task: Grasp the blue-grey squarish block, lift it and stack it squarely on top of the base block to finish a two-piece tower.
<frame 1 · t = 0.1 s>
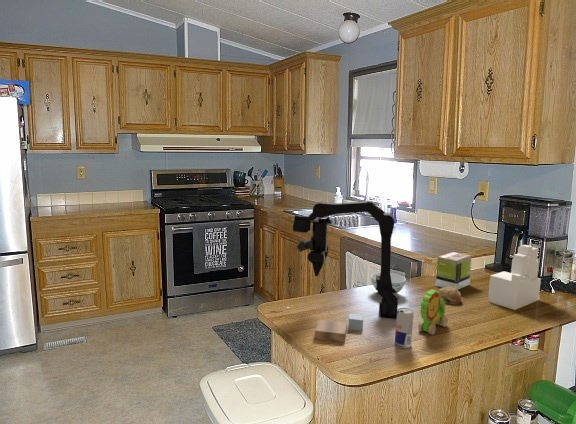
hand: (318, 272, 180), 15 cm above the countertop, fingers open, 9 cm apart
bread roll: (448, 300, 196), on the countertop
energy drink: (402, 345, 151), on the countertop
blue-grey squarish block: (355, 327, 165), on the countertop
tea box: (452, 286, 217), on the countertop
chinaware: (387, 294, 201), on the countertop
building blocks: (513, 301, 198), on the countertop
toy lion: (431, 330, 164), on the countertop
base block: (331, 334, 157), on the countertop
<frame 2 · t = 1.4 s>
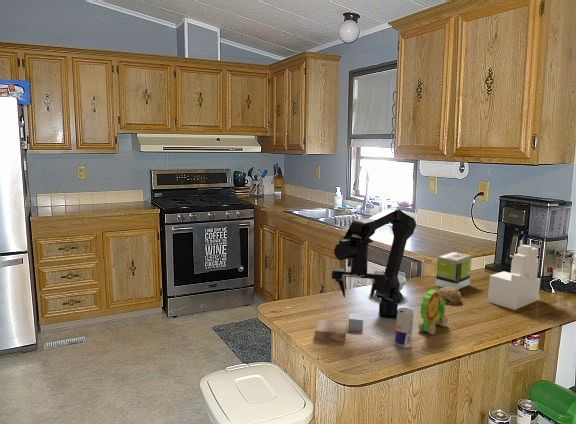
hand: (357, 298, 163), 11 cm above the countertop, fingers open, 9 cm apart
nothing on the countertop moved.
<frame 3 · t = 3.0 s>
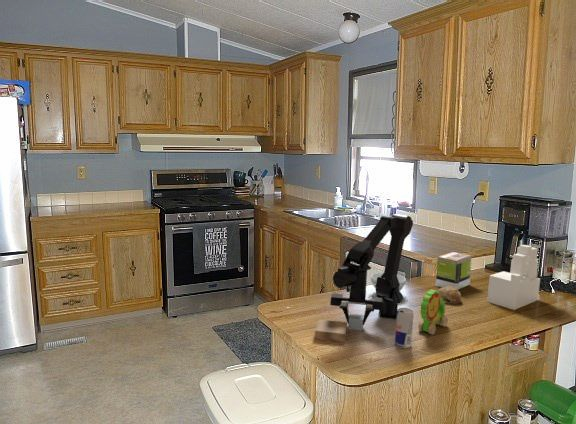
hand: (355, 324, 164), 1 cm above the countertop, fingers closed on blue-grey squarish block, 5 cm apart
blue-grey squarish block: (355, 326, 165), on the countertop, touching gripper
everything else where it was.
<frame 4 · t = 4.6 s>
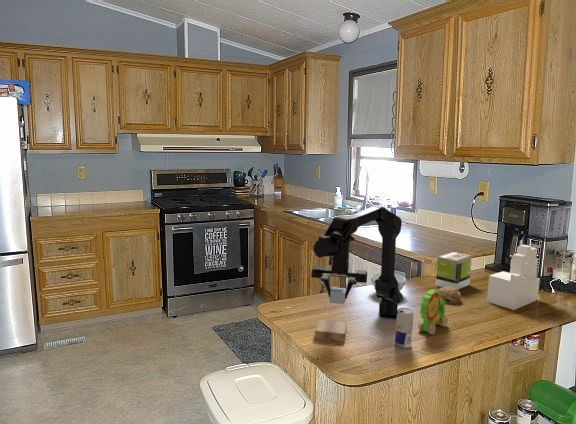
hand: (337, 298, 157), 13 cm above the countertop, fingers closed on blue-grey squarish block, 5 cm apart
blue-grey squarish block: (337, 301, 157), point 12 cm above the countertop, touching gripper
everything else where it was.
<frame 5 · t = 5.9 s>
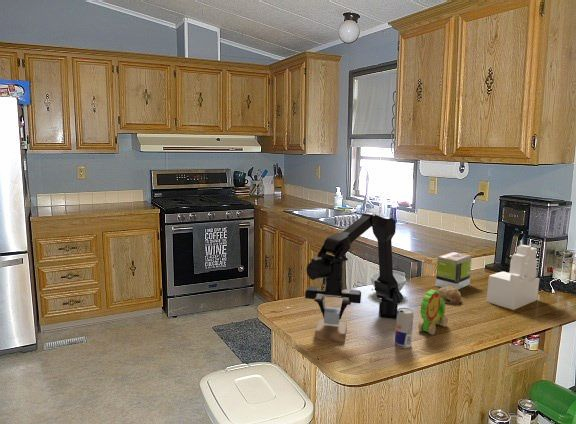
hand: (332, 318, 156), 6 cm above the countertop, fingers closed on blue-grey squarish block, 5 cm apart
blue-grey squarish block: (331, 321, 157), point 5 cm above the countertop, touching gripper
everything else where it was.
when the fingers open (5 cm above the countertop, at t = 6.5 s): blue-grey squarish block stays where it is, resting on base block.
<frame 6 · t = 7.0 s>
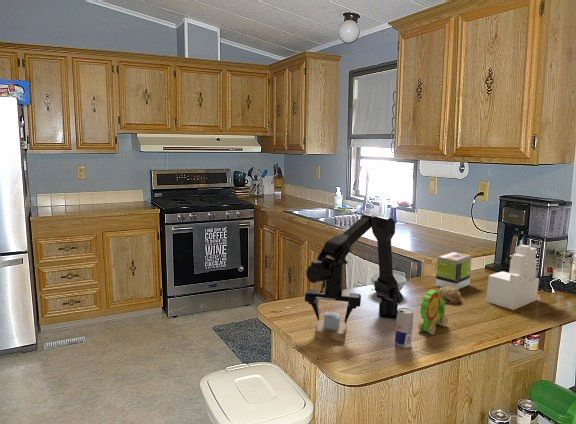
hand: (331, 321, 157), 5 cm above the countertop, fingers open, 9 cm apart
blue-grey squarish block: (331, 326, 157), point 3 cm above the countertop, touching base block
everything else where it was.
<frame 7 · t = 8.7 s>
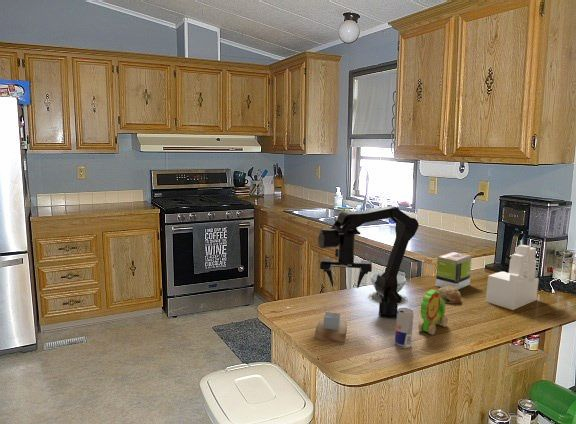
hand: (345, 287, 169), 13 cm above the countertop, fingers open, 9 cm apart
nothing on the countertop moved.
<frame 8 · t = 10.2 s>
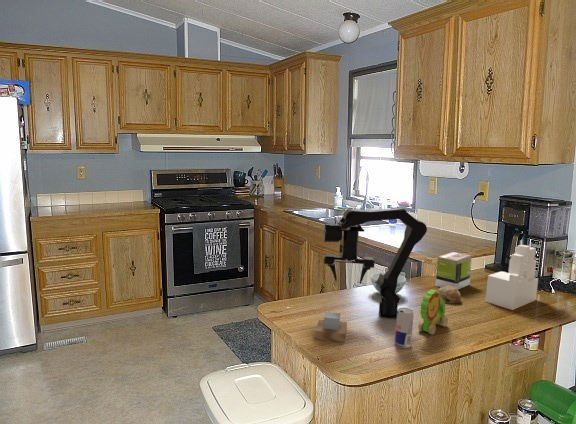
hand: (348, 282, 174), 13 cm above the countertop, fingers open, 9 cm apart
at the end: blue-grey squarish block inside the target area on the base block (0.1 cm from its centre), point 3.0 cm above the base block's base; blue-grey squarish block tilted 0°; the gripper is holding nothing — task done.
